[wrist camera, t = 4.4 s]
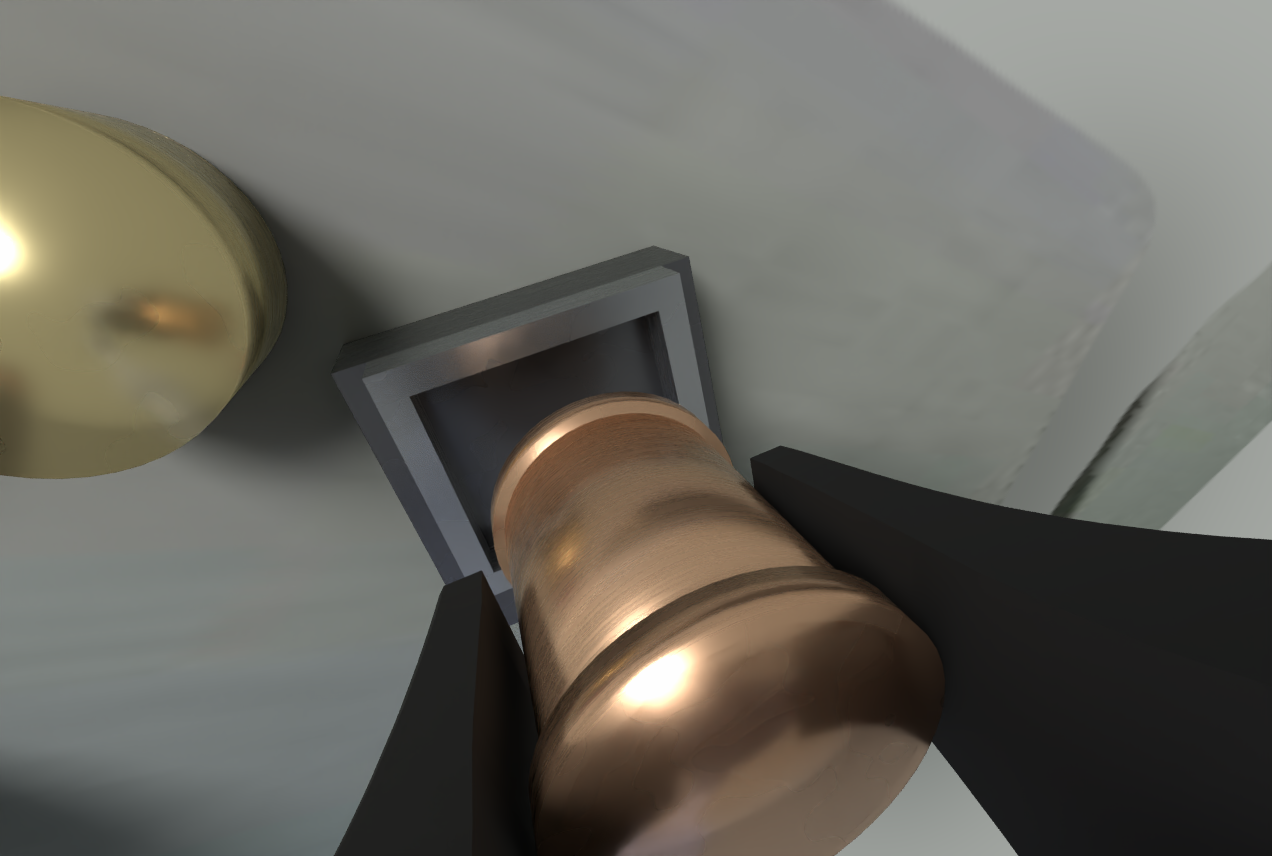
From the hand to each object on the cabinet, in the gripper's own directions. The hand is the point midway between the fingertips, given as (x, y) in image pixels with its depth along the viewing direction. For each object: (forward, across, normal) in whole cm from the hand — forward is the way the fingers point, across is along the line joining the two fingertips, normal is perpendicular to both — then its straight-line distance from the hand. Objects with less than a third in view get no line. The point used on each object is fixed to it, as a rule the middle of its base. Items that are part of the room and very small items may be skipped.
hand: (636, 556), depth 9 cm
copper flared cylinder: (+2, 0, 0) cm, 2 cm away
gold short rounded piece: (+9, +8, -6) cm, 13 cm away
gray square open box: (+9, 0, +2) cm, 9 cm away
